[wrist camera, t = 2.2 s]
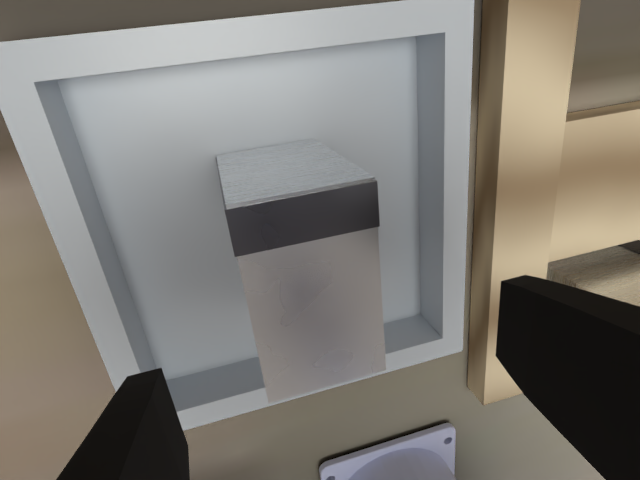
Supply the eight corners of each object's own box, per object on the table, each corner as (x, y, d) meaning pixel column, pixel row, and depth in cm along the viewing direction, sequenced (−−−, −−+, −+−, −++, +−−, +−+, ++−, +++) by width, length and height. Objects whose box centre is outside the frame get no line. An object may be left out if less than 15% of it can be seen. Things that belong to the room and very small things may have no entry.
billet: (623, 296, 24) (745, 363, 19) (533, 321, 23) (635, 400, 18) (636, 238, 23) (772, 292, 17) (540, 262, 21) (654, 327, 16)
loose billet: (315, 138, 16) (377, 176, 10) (331, 278, 18) (388, 369, 13) (214, 154, 15) (223, 206, 9) (245, 298, 17) (267, 404, 12)
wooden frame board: (667, 325, 26) (692, 339, 25) (467, 386, 23) (483, 405, 22) (787, -117, 17) (837, -133, 16) (486, -100, 14) (516, -118, 13)
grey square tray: (434, 320, 21) (462, 350, 19) (144, 398, 18) (136, 443, 16) (434, 4, 15) (474, -7, 13) (14, 49, 13) (-27, 44, 10)
